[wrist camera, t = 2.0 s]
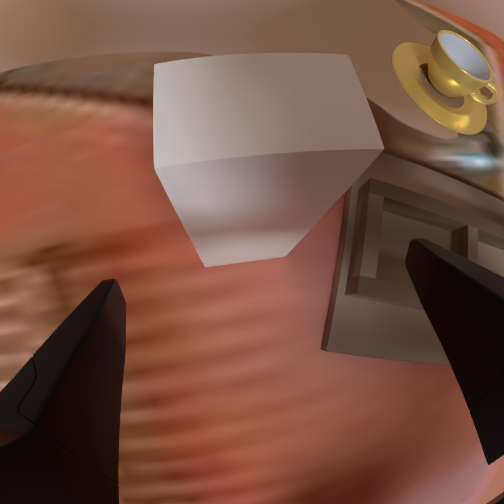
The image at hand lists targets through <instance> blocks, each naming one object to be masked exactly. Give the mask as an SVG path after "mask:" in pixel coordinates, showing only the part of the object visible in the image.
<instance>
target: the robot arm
mask: <svg viewBox="0 0 504 504" xmlns="http://www.w3.org/2000/svg"><path fill="white" fill-rule="evenodd" d="M405 266H406V269H407V271H408V274H409V276H410V278H411V281H412V283H413V285H414V288H415V290H416V293H417V295H418V298H419V300H420V302H421V305H422V307H423V309H424V311H425V313H426V315H427V317H428V319H429V321H430V323H431V325H432V327H433V329H434V331H435V333H436V335H437V337H438V339H439V341H440V343H441V345H442V347H443V350H444V352H445V354H446V356H447V358H448V361H449V363H450V365H451V367H452V370H453V372H454V374H455V376H456V379H457V381H458V384H459V386H460V388H461V391H462V393H463V396H464V398H465V401H466V403H467V406H468V408H469V410H470V414H471V417H472V419H473V422H474V425H475V428H476V431H477V433H478V436H479V439H480V442H481V445H482V448H483V451H484V455H485V458H486V461H487V463H488V465H490V464H491V463H493V462H494V461H496V460H497V459H499V458H500V457H501V456H503V455H504V277H502V276H500V275H498V274H496V273H494V272H492V271H491V270H489V269H487V268H485V267H483V266H481V265H479V264H477V263H475V262H473V261H471V260H468V259H466V258H464V257H462V256H460V255H458V254H456V253H454V252H452V251H450V250H448V249H445V248H443V247H441V246H439V245H437V244H435V243H433V242H430V241H428V240H426V239H424V238H417V239H412V240H411V241H410V243H409V246H408V250H407V254H406V258H405ZM125 353H126V302H125V299H124V296H123V294H122V291H121V289H120V286H119V283H118V282H117V280H115V279H109V280H103V281H102V282H101V283H100V284H99V285H98V286H97V287H96V288H95V289H94V290H93V291H92V292H91V293H90V294H89V295H88V296H87V297H86V298H85V299H84V300H83V301H82V302H81V303H80V304H79V305H78V306H77V307H76V308H75V310H74V311H73V312H72V313H71V314H70V315H69V316H68V317H67V318H66V319H65V320H64V321H63V322H62V323H61V325H60V326H59V327H58V328H57V329H56V330H55V331H54V332H53V333H52V334H51V336H50V337H49V338H48V339H47V340H46V341H45V342H44V343H43V345H42V346H41V347H40V348H39V349H38V350H37V351H36V352H35V354H34V355H33V357H31V358H30V359H29V361H28V362H27V363H26V364H25V365H24V366H23V368H22V369H21V370H20V371H19V372H18V373H17V374H16V376H15V377H14V378H13V379H12V380H11V381H10V382H9V383H8V384H7V385H6V386H5V387H4V389H3V390H2V391H1V392H0V504H119V486H118V463H119V430H120V411H121V397H122V385H123V374H124V364H125ZM487 504H504V492H503V493H502V494H500V495H499V496H497V497H496V498H494V499H493V500H491V501H490V502H488V503H487Z"/></svg>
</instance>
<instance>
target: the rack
mask: <svg viewBox="0 0 504 504" xmlns="http://www.w3.org/2000/svg"><path fill="white" fill-rule="evenodd" d="M417 238H424V239H426V240H428V241H430V242H433V243H435V244H437V245H439V246H441V247H443V248H445V249H448V250H450V251H452V252H454V253H456V254H458V255H460V256H462V257H464V258H466V259H468V260H471V261H473V262H475V263H477V264H479V265H481V266H483V267H485V268H487V269H489V270H491V271H492V272H494V273H496V274H498V275H500V276H502V277H504V202H503V201H501V200H499V199H497V198H495V197H493V196H491V195H489V194H487V193H485V192H483V191H480V190H478V189H476V188H474V187H472V186H469V185H467V184H465V183H462V182H460V181H458V180H455V179H453V178H451V177H448V176H446V175H443V174H441V173H438V172H436V171H433V170H431V169H428V168H426V167H423V166H420V165H418V164H415V163H412V162H410V161H407V160H404V159H401V158H398V157H395V156H393V155H390V154H387V153H384V152H381V153H380V155H379V156H378V157H377V158H376V159H375V160H374V161H373V162H372V163H371V165H370V166H369V167H368V168H367V169H366V170H365V171H364V172H363V173H362V174H361V176H360V177H359V178H358V179H357V180H356V181H355V182H354V183H353V184H352V185H351V186H350V188H349V189H348V190H347V191H346V195H345V204H344V212H343V220H342V228H341V235H340V242H339V249H338V256H337V263H336V269H335V275H334V281H333V287H332V293H331V299H330V304H329V310H328V315H327V321H326V326H325V331H324V336H323V341H322V346H321V349H322V350H324V351H328V352H335V353H342V354H349V355H357V356H365V357H373V358H381V359H390V360H399V361H409V362H420V363H432V364H446V365H450V363H449V361H448V358H447V356H446V354H445V352H444V350H443V347H442V345H441V343H440V341H439V339H438V337H437V335H436V333H435V331H434V329H433V327H432V325H431V323H430V321H429V319H428V317H427V315H426V313H425V311H424V309H423V307H422V305H421V302H420V300H419V298H418V295H417V293H416V290H415V288H414V285H413V283H412V281H411V278H410V276H409V274H408V271H407V269H406V266H405V258H406V254H407V250H408V246H409V243H410V241H411V240H412V239H417Z"/></svg>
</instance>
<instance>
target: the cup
mask: <svg viewBox="0 0 504 504" xmlns="http://www.w3.org/2000/svg"><path fill="white" fill-rule="evenodd" d="M392 66H393V69H394V72H395V74H396V76H397V79H398V80H399V82H400V84H401V85H402V87H403V88H404V90H405V91H406V92H407V94H408V95H409V96H410V97H411V99H412V100H413V101H414V102H415V103H416V104H417V105H418V106H419V107H420V108H421V109H422V110H423V111H424V112H425V113H427V114H428V115H429V116H430V117H432V118H433V119H434V120H436V121H437V122H438V123H440V124H442V125H443V126H445V127H447V128H449V129H451V130H453V131H455V132H458V133H462V134H468V135H471V134H477V133H479V132H480V131H482V130H483V128H484V127H485V125H486V121H487V110H486V106H485V104H492V103H494V102H496V101H497V99H498V96H499V91H498V89H497V87H496V86H495V84H494V83H493V82H491V80H492V78H493V74H492V70H491V67H490V65H489V63H488V62H487V60H486V59H485V57H484V56H483V55H482V53H481V52H480V51H479V50H478V49H477V48H476V47H475V46H474V45H473V44H472V43H470V42H469V41H468V40H466V39H465V38H464V37H462V36H460V35H458V34H456V33H454V32H452V31H448V30H442V31H439V32H438V34H437V36H436V38H435V40H434V42H433V44H432V46H428V45H425V44H421V43H417V42H405V43H402V44H400V45H398V46H397V47H396V48H395V49H394V51H393V53H392ZM425 67H427V74H428V78H429V80H430V82H431V84H432V85H433V87H434V88H435V89H436V90H437V91H439V92H440V93H441V94H443V95H445V96H447V97H461V96H464V104H463V106H462V107H460V108H451V107H448V106H446V105H444V104H442V103H441V102H439V101H438V100H436V99H435V98H434V97H433V96H432V95H431V94H430V93H429V92H428V91H427V90H426V88H425V86H424V84H423V82H422V79H421V75H420V74H421V70H422V69H423V68H425ZM482 87H487V88H488V89H489V90H491V92H492V94H491V95H489V96H484V95H482V94H481V93H480V91H479V90H480V89H481V88H482Z"/></svg>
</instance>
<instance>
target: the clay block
mask: <svg viewBox="0 0 504 504" xmlns="http://www.w3.org/2000/svg"><path fill="white" fill-rule="evenodd" d="M153 144H154V169H155V171H156V173H157V175H158V177H159V179H160V181H161V183H162V185H163V187H164V189H165V191H166V193H167V195H168V197H169V199H170V201H171V203H172V205H173V207H174V209H175V211H176V213H177V215H178V217H179V219H180V220H181V222H182V224H183V226H184V228H185V230H186V232H187V234H188V236H189V238H190V240H191V241H192V243H193V245H194V247H195V249H196V251H197V253H198V255H199V256H200V258H201V260H202V262H203V264H204V266H205V267H210V266H217V265H225V264H233V263H240V262H248V261H255V260H263V259H270V258H277V257H285V256H286V255H287V254H288V253H289V252H290V251H291V250H292V249H293V247H294V246H295V245H296V244H297V243H298V242H299V241H300V240H301V239H302V238H303V237H304V236H305V235H306V234H307V233H308V232H309V231H310V229H311V228H312V227H313V226H314V225H315V224H316V223H317V222H318V221H319V220H320V219H321V218H322V217H323V216H324V215H325V213H326V212H327V211H328V210H329V209H330V208H331V207H332V206H333V205H334V204H335V203H336V202H337V201H338V199H339V198H340V197H341V196H342V195H343V194H344V193H345V192H346V191H347V190H348V189H349V188H350V186H351V185H352V184H353V183H354V182H355V181H356V180H357V179H358V178H359V177H360V176H361V174H362V173H363V172H364V171H365V170H366V169H367V168H368V167H369V166H370V165H371V163H372V162H373V161H374V160H375V159H376V158H377V157H378V156H379V155H380V153H381V152H382V151H383V150H384V146H383V143H382V140H381V137H380V134H379V131H378V128H377V125H376V122H375V120H374V117H373V114H372V112H371V109H370V106H369V104H368V101H367V98H366V96H365V93H364V91H363V89H362V86H361V83H360V81H359V79H358V76H357V74H356V72H355V69H354V67H353V65H352V62H351V60H350V58H349V56H348V55H345V54H330V53H305V52H304V53H303V52H299V53H298V52H273V53H247V54H232V55H219V56H209V57H200V58H192V59H184V60H178V61H171V62H165V63H159V64H154V96H153Z"/></svg>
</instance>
